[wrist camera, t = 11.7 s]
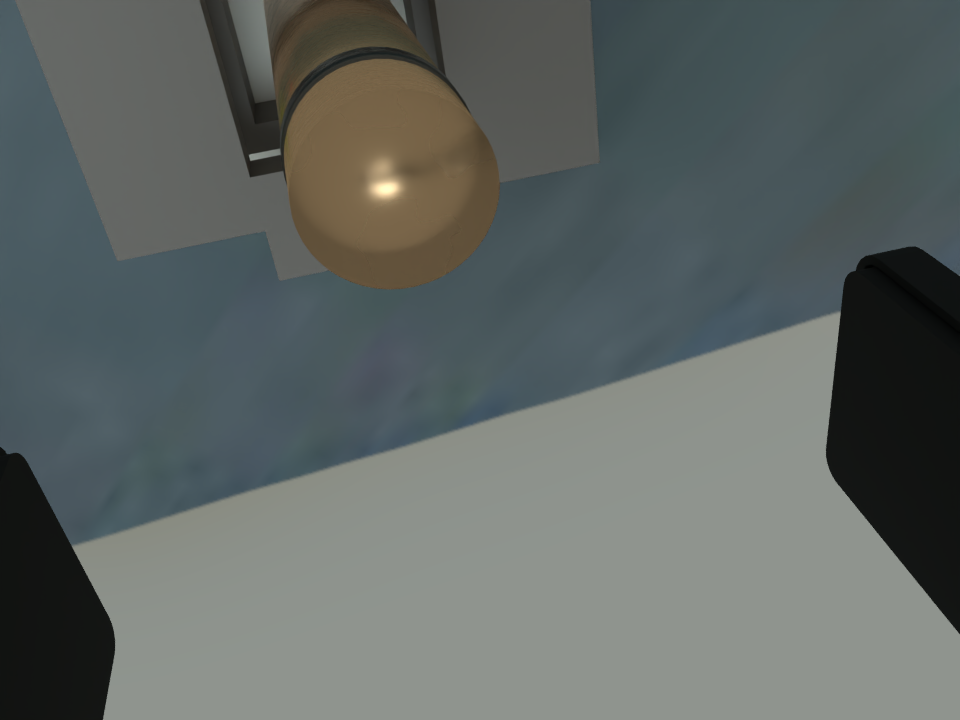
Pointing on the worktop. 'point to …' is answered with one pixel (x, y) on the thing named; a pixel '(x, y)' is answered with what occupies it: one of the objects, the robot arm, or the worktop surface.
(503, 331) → the worktop surface
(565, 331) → the worktop surface
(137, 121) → the collar stand
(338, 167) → the thermos bottle
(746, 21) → the worktop surface
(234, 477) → the worktop surface
